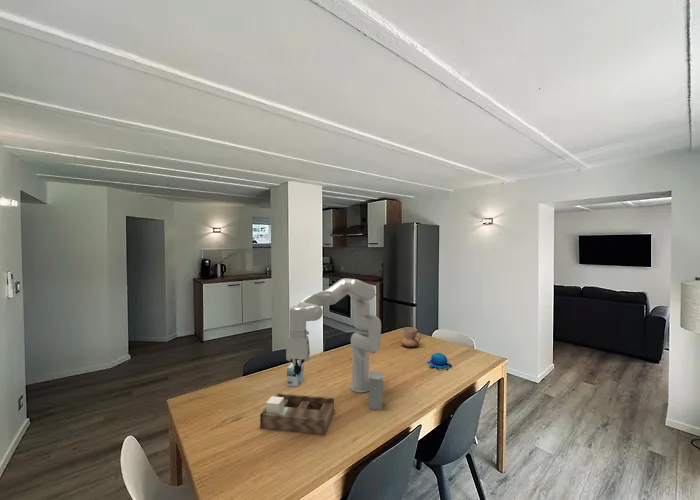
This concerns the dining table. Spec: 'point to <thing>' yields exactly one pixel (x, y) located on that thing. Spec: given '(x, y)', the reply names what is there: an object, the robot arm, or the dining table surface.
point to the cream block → (275, 405)
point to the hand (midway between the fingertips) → (297, 373)
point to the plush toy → (439, 361)
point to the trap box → (300, 414)
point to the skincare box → (376, 390)
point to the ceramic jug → (410, 337)
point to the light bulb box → (294, 376)
